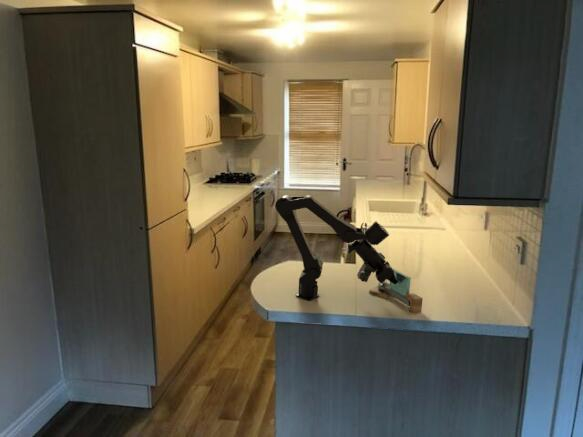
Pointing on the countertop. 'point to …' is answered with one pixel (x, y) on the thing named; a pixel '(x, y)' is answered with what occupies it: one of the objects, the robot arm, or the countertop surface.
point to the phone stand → (365, 229)
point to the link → (397, 287)
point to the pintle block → (379, 292)
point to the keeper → (414, 303)
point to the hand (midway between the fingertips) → (395, 282)
